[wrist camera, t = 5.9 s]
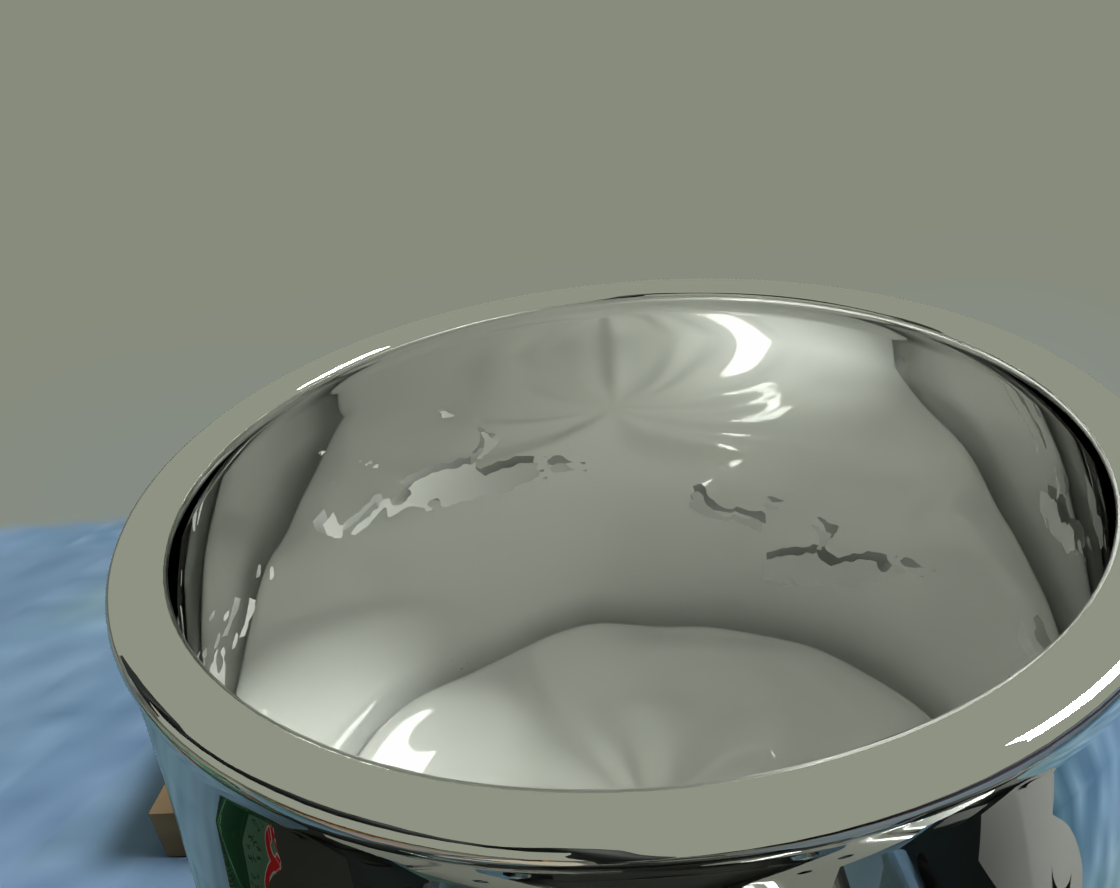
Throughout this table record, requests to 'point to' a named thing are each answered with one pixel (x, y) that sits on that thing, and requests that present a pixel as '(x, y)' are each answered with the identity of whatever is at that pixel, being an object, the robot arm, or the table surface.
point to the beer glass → (642, 603)
